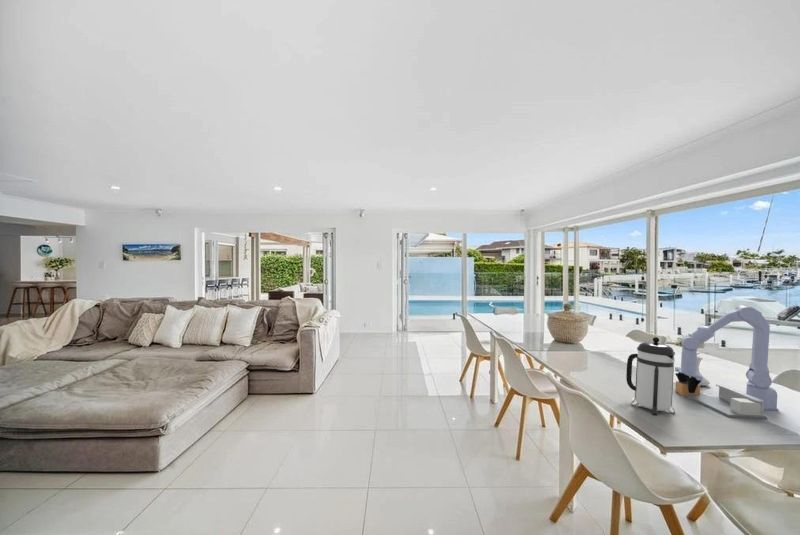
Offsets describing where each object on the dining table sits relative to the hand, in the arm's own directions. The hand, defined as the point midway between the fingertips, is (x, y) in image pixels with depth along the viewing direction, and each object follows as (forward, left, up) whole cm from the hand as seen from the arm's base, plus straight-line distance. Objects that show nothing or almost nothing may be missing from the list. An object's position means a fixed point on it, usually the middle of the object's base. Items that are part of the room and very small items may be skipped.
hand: (687, 390), depth 170 cm
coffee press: (+32, +22, -2) cm, 39 cm away
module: (0, 0, -2) cm, 2 cm away
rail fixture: (-4, +16, -1) cm, 16 cm away
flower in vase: (-17, -18, -2) cm, 25 cm away
